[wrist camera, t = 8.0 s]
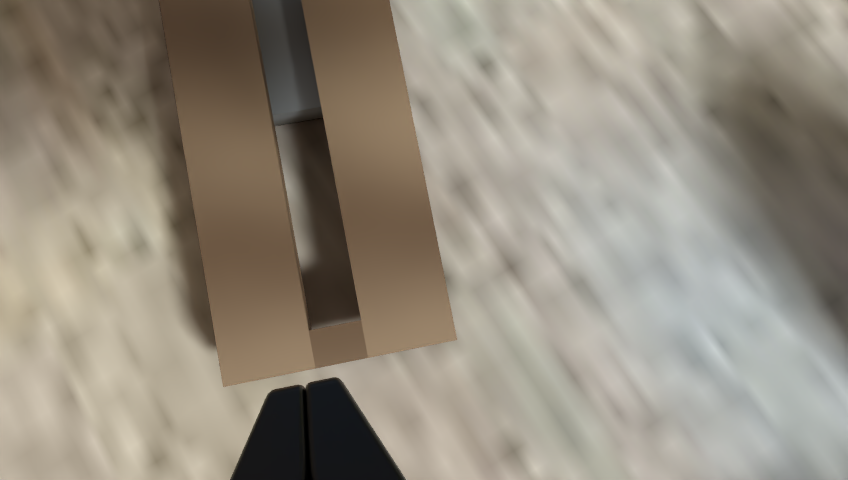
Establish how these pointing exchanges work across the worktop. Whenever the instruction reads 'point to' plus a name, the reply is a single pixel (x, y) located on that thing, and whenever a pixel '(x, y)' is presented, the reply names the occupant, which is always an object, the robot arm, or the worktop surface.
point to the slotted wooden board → (265, 187)
